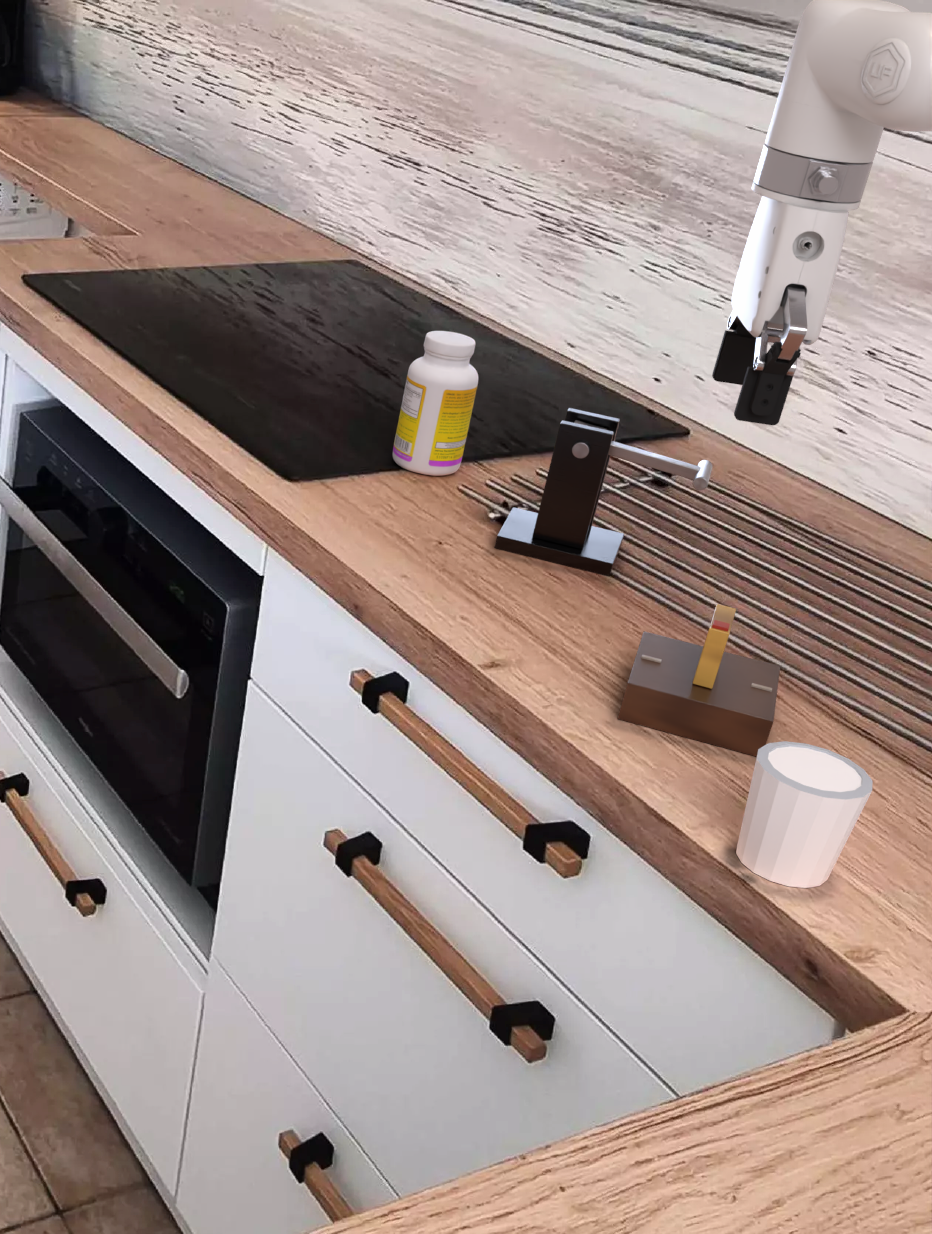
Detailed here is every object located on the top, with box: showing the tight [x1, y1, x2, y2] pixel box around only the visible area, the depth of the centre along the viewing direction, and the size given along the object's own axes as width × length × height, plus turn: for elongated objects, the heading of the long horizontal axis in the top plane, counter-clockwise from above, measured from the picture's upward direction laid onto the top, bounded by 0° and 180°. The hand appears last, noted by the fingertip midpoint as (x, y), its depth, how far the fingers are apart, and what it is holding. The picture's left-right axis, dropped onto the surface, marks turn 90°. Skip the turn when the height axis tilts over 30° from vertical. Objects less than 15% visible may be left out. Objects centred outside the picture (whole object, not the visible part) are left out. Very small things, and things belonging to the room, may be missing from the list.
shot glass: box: [735, 740, 874, 889], centre depth 109 cm, size 7×7×7 cm
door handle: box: [574, 420, 714, 491], centre depth 148 cm, size 12×5×2 cm, turn 67°
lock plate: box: [617, 630, 781, 758], centre depth 127 cm, size 10×10×3 cm
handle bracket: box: [494, 407, 625, 577], centre depth 151 cm, size 10×8×12 cm
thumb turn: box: [693, 603, 737, 689], centre depth 126 cm, size 5×1×5 cm, turn 155°
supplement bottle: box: [392, 330, 479, 477], centre depth 167 cm, size 7×7×13 cm
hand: (743, 401), depth 134 cm, fingers open, 9 cm apart
